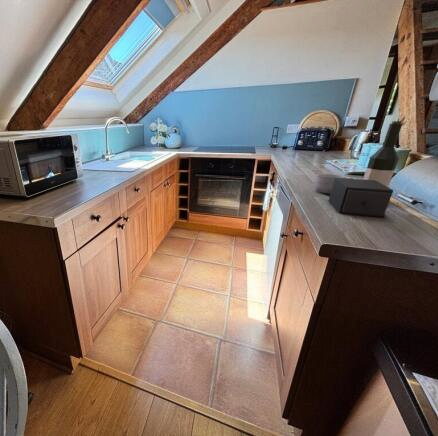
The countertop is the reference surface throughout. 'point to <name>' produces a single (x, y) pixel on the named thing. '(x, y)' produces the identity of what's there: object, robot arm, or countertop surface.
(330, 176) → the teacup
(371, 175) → the wine bottle
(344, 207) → the drawer
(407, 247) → the countertop surface
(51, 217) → the countertop surface
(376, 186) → the dark grey drawer box
